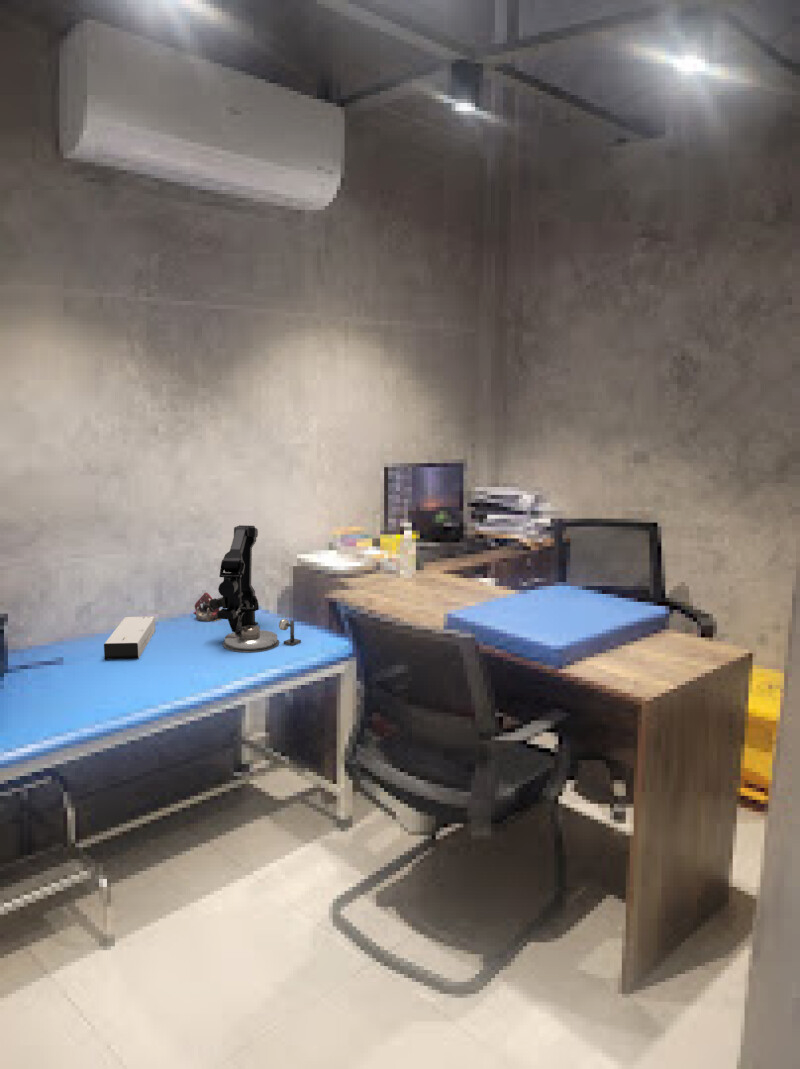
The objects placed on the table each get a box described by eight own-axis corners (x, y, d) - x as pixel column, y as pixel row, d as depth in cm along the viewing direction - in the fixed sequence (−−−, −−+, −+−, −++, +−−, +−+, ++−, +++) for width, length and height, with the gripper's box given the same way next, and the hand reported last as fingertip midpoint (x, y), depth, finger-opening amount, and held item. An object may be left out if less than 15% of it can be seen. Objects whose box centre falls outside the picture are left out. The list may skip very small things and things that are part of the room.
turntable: (282, 635, 309) (281, 620, 308) (271, 651, 290) (271, 635, 289) (232, 634, 310) (232, 618, 309) (218, 649, 291) (218, 633, 290)
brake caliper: (185, 615, 327) (194, 588, 332) (197, 626, 336) (206, 599, 341) (210, 618, 323) (219, 591, 329) (222, 629, 333) (230, 602, 338)
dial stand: (290, 640, 306) (289, 616, 304) (300, 642, 303) (300, 619, 301) (279, 643, 301) (278, 620, 299) (290, 646, 298) (289, 622, 296)
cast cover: (261, 634, 303) (261, 625, 302) (257, 640, 296) (257, 630, 296) (243, 634, 303) (243, 624, 303) (239, 639, 297) (239, 629, 296)
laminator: (138, 660, 281) (137, 642, 280) (101, 661, 280) (100, 643, 279) (155, 631, 314) (154, 616, 313) (122, 632, 313) (121, 616, 312)
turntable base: (250, 632, 314) (250, 631, 314) (290, 642, 303) (290, 641, 303) (211, 645, 297) (211, 644, 297) (251, 656, 286) (251, 655, 286)
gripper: (221, 584, 310) (222, 624, 312) (202, 595, 292) (203, 637, 294) (249, 585, 308) (250, 625, 311) (232, 596, 290) (233, 639, 293)
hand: (234, 631), depth 302 cm, fingers closed
